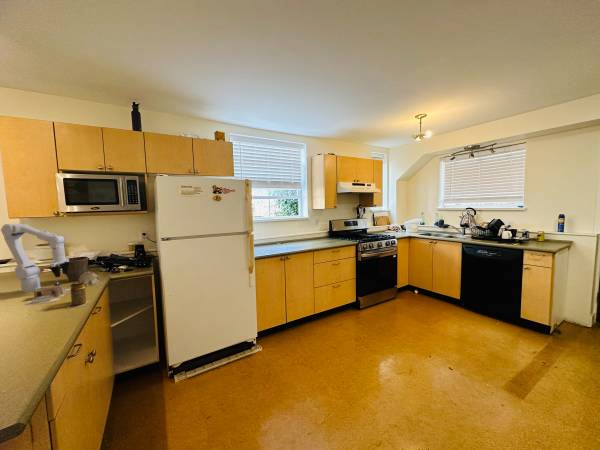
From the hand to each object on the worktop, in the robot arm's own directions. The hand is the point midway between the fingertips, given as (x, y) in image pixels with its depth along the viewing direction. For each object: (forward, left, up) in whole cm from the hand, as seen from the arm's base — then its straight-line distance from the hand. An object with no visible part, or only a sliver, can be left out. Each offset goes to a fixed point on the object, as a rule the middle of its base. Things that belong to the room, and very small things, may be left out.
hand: (61, 275), depth 159 cm
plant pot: (-23, +1, -10) cm, 25 cm away
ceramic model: (-3, +12, -10) cm, 16 cm away
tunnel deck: (+14, -2, -10) cm, 17 cm away
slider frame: (+12, -2, -9) cm, 15 cm away
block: (+14, -2, -9) cm, 17 cm away
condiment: (+35, +16, -10) cm, 40 cm away
